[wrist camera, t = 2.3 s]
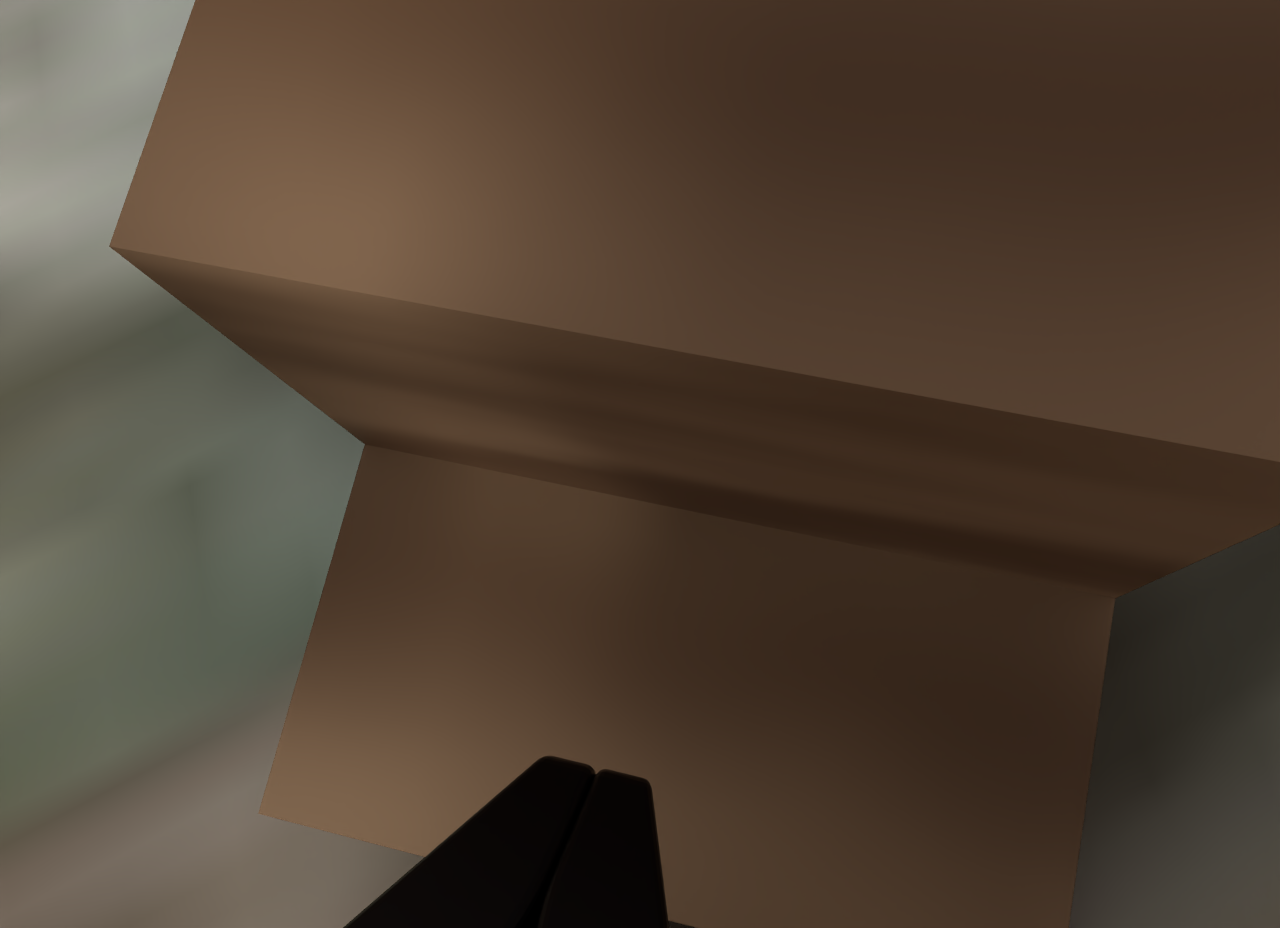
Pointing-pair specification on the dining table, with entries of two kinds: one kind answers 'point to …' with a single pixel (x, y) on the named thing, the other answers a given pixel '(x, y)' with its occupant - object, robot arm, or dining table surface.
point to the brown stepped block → (741, 403)
